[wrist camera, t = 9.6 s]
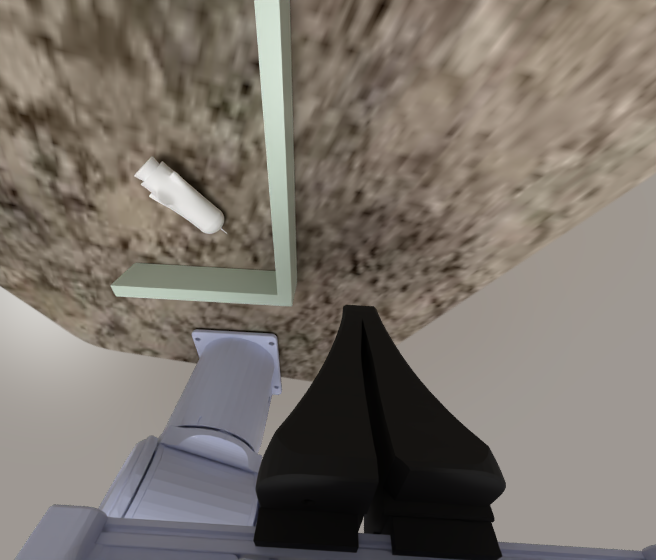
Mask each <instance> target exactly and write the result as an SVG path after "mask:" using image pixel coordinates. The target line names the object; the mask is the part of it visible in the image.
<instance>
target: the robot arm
mask: <svg viewBox="0 0 656 560" xmlns="http://www.w3.org/2000/svg"><path fill="white" fill-rule="evenodd" d="M192 337H193V340H194V343H195V346H196V349H197V352H198V355H199V358H200V359H199V361H198V363H197V365H196V367H195V369H194V371H193V373H192V375H191V377H190V379H189V381H188V383H187V385H186V387H185V389H184V391H183V393H182V395H181V397H180V399H179V401H178V403H177V405H176V407H175V409H174V411H173V413H172V415H171V417H170V419H169V421H168V423H167V425H166V427H165V429H164V431H163V433H162V434H161V435H160V437H159V438H157V437H154V436H149V437H147V439H144V440H142V441H140V442H138V443H137V444H136V445H135V447H134V448H133V450H132V452H131V453H130V455H129V456H128V458H127V459H126V461H125V463H124V464H123V466H122V468H121V470H120V471H119V473H118V475H117V476H116V478H115V480H114V481H113V483H112V485H111V487H110V488H109V490H108V492H107V494H106V495H105V497H104V499H103V501H102V503H101V504H100V506H99V508H98V509H97V508H94V507H86V506H71V505H56V504H55V505H52V506H51V507H49V509H48V510H47V512H46V513H45V515H44V516H43V518H42V519H41V521H40V522H39V524H38V525H37V527H36V528H35V529H34V531H33V532H32V534H31V535H30V537H29V538H28V540H27V541H26V543H25V544H24V546H23V547H22V549H21V550H20V552H19V553H18V555H17V556H16V558H15V559H14V560H656V545H651V546H648V547H646V548H644V549H643V550H642V551H634V550H618V549H602V548H587V547H571V546H555V545H538V544H523V543H507V542H498V541H497V538H496V535H495V532H494V529H493V526H492V523H491V522H494V515H493V512H492V509H491V507H490V504H492V503H493V502H494V501H495V500H496V499H497V498H498V497H499V496H500V495H501V494H502V493H503V492H504V490H505V488H506V483H505V480H504V478H503V475H502V472H501V470H500V468H499V466H498V463H497V462H496V459H495V458H494V456H493V454H492V452H491V450H490V448H489V446H487V445H486V444H485V443H484V442H483V441H482V440H480V439H479V438H478V437H477V436H475V435H474V434H473V433H472V432H471V431H470V430H468V429H467V428H466V427H465V426H464V425H463V424H462V423H461V422H459V420H457V419H456V418H455V417H454V416H453V415H452V414H451V413H450V412H449V411H448V410H447V409H446V408H445V407H444V406H443V405H442V404H441V403H440V401H438V399H437V398H435V396H434V395H433V394H432V393H431V392H430V391H429V390H428V389H427V388H426V386H425V385H424V384H423V383H422V382H421V381H420V379H419V378H418V377H417V376H416V374H415V373H414V372H413V371H412V369H411V368H410V366H409V365H408V364H407V362H406V361H405V359H404V358H403V356H402V355H401V354H400V352H399V350H398V349H397V347H396V346H395V344H394V342H393V341H392V339H391V338H390V336H389V334H388V332H387V331H386V329H385V327H384V325H383V323H382V321H381V319H380V317H379V315H378V313H377V310H376V308H375V307H374V306H357V305H345V306H344V307H343V315H342V320H341V324H340V327H339V330H338V333H337V336H336V338H335V341H334V343H333V345H332V348H331V350H330V352H329V354H328V356H327V358H326V360H325V362H324V364H323V366H322V368H321V370H320V371H319V373H318V375H317V376H316V378H315V380H314V381H313V383H312V384H311V386H310V388H309V389H308V391H307V392H306V394H305V395H304V396H303V398H302V399H301V400H300V402H299V403H298V404H297V406H296V407H295V409H294V410H293V411H292V412H291V414H290V415H289V416H288V417H287V418H286V420H285V421H284V422H283V423H282V425H281V426H280V427H279V428H278V429H277V430H276V432H275V434H274V435H273V437H272V439H271V441H270V443H269V445H268V448H267V450H266V452H265V454H264V457H263V459H262V456H261V455H259V454H257V453H258V451H259V449H260V447H261V443H262V438H263V434H264V429H265V425H266V420H267V416H268V411H269V406H270V402H271V397H272V395H273V394H274V395H279V394H281V392H282V385H281V374H280V363H279V352H278V341H277V336H276V335H274V334H267V333H251V332H234V331H217V330H200V329H196V330H194V331H193V332H192ZM272 342H273V343H272ZM261 461H262V462H261ZM363 517H364V533H358V531H359V528H360V525H361V523H362V520H363Z"/></svg>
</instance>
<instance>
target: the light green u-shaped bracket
mask: <svg viewBox="0 0 656 560" xmlns="http://www.w3.org/2000/svg"><path fill="white" fill-rule="evenodd" d="M254 3H255V15H256V28H257V41H258V53H259V66H260V79H261V91H262V104H263V117H264V129H265V142H266V155H267V167H268V180H269V193H270V205H271V218H272V231H273V243H274V256H275V269H276V271H268V270H250V269H233V268H216V267H198V266H181V265H164V264H146V263H134V264H133V265H132V266H131V267H130V268H129V269H128V270H127V271H126V272H124V273H123V274H122V275H121V276H120V277H119V278H118V279H117V280H116V281H115V282H114V283H112V284H111V285H110V286H111V288H112V289H113V291H114V293H115V295H116V296H121V297H138V298H155V299H172V300H189V301H206V302H224V303H241V304H258V305H275V306H292V304H293V300H294V295H295V290H296V285H297V256H296V217H295V178H294V140H293V101H292V63H291V24H290V0H254Z"/></svg>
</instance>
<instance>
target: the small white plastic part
mask: <svg viewBox="0 0 656 560" xmlns="http://www.w3.org/2000/svg"><path fill="white" fill-rule="evenodd" d="M134 176H135V177H137V178H139V179H140V180H142V181H143V182H142V183H141V185H142V186H144V187H145V188H146V189H148V190H149V191H150V192H151V194H150V195H149V197H151V198H152V199H154V200H155V201H157V202H159V203H161V204H163V205H164V206H166V207H168V208H170V209H171V210H173V211H175V212H176V213H178V214H179V215H181V216H182V217H184V218H185V219H187V220H188V221H190V222H191V223H192V224H194V225H195V226H196V227H197V228H199V229H200V230H201V231H202V232H204V233H208V234H212V233H215V232H217V231H219V230H220V229H221V228H222V226H223V224H224V215H223V213H222V212H221V210H219V209H218V208H217V207H215V206H214V205H213V204H212V203H211V202H209V201H208V200H207V199H206V198H205V197H204V196H202V195H201V194H200V193H199V192H198V191H197V190H195V189H194V188H193V187H192V186H191V185H190V184H188V183H187V182H186V181H185V180H184V179H183V178H182V177H181V176H180V175H179V174H178V173H176V172H175V171H173V170H172V169H171V168H170V167H168V166H167V165H166V164H165V163H164V162H163V161H162V162H161V163H160V164H159V163H158V162H157V161H156V159H155V158H154V157H153V156H152V157H151V158H150V159H149V160H148V161H147V162H146V163H145V164H144V165H143V166H142V167H141V168H140V169H139V170H138V171H137V173H136V174H135V175H134ZM221 230H223V229H221ZM223 231H224V230H223ZM224 232H225V231H224ZM225 233H226V232H225Z"/></svg>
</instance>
